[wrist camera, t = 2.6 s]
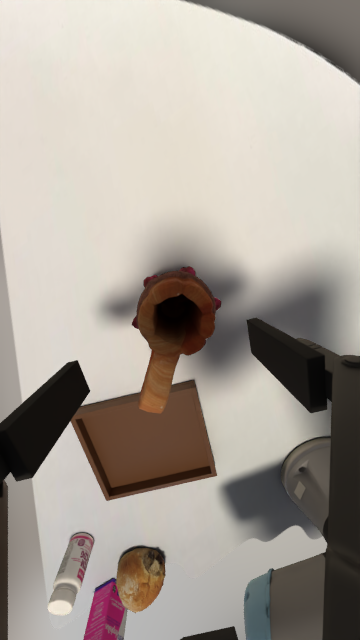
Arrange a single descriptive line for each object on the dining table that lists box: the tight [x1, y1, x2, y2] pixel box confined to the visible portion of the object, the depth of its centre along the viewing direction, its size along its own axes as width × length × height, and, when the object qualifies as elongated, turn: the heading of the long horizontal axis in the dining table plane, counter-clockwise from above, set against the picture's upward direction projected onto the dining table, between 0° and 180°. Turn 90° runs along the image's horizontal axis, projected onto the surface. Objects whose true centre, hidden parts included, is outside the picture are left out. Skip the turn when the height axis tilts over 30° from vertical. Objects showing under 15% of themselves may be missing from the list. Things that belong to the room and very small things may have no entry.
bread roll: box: [116, 548, 165, 613], centre depth 40 cm, size 10×10×8 cm
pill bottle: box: [48, 533, 94, 615], centre depth 36 cm, size 5×5×8 cm
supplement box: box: [84, 578, 127, 640], centre depth 39 cm, size 6×6×12 cm
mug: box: [132, 266, 221, 414], centre depth 22 cm, size 15×8×15 cm, turn 162°
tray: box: [71, 380, 217, 501], centre depth 34 cm, size 21×19×2 cm
